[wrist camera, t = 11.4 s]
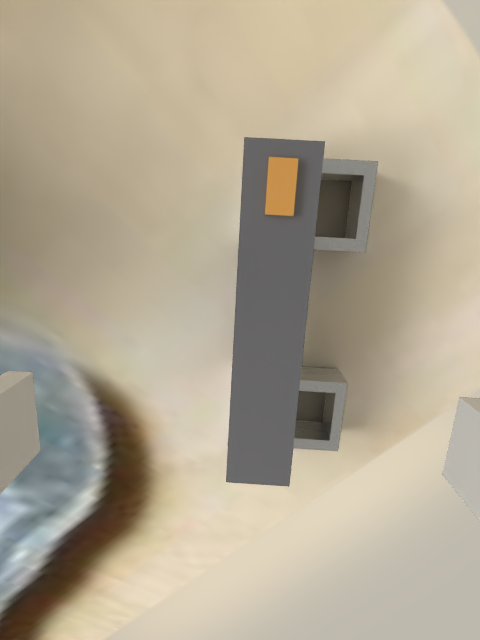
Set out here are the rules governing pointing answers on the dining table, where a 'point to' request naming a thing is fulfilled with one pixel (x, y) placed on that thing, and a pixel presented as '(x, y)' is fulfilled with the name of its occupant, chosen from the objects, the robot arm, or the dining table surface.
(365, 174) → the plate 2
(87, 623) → the dining table surface
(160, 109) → the dining table surface
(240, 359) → the grey rectangular bar
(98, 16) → the dining table surface
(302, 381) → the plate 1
